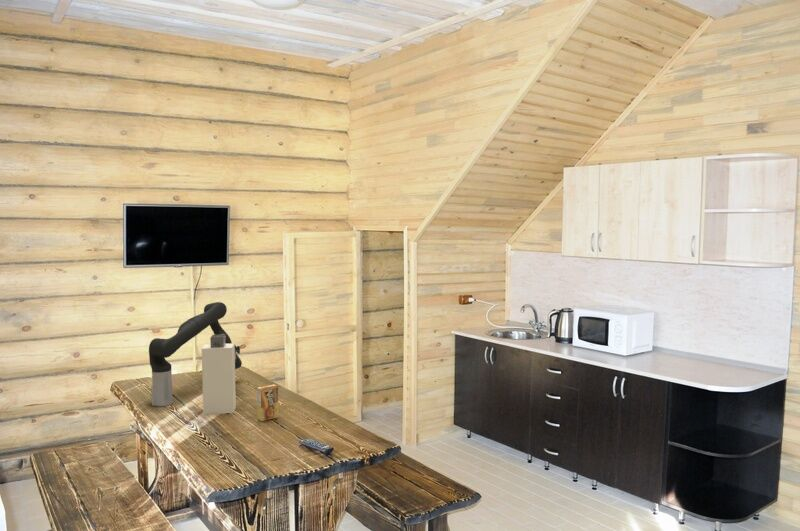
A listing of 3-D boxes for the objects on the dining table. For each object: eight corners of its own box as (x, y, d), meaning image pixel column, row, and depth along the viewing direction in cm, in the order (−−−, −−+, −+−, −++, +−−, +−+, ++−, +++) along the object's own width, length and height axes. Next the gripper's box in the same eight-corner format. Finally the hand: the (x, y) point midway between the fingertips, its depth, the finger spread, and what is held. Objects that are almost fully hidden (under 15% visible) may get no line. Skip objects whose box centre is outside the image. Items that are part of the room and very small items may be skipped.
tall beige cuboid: (203, 414, 302) (201, 348, 299) (206, 408, 312) (205, 344, 309) (233, 413, 304) (231, 347, 301) (235, 406, 314) (234, 343, 311)
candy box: (274, 415, 301) (273, 383, 299) (278, 417, 297) (278, 385, 296) (257, 419, 295) (256, 387, 294) (261, 421, 292) (261, 389, 290)
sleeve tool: (210, 347, 301) (210, 337, 300) (216, 339, 319) (216, 330, 319) (223, 347, 301) (223, 337, 301) (228, 339, 320) (228, 329, 320)
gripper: (215, 348, 341) (210, 339, 327) (242, 348, 343) (238, 338, 329) (214, 362, 338) (209, 353, 324) (241, 361, 340) (238, 352, 326)
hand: (224, 345), depth 326 cm, fingers open, 8 cm apart
